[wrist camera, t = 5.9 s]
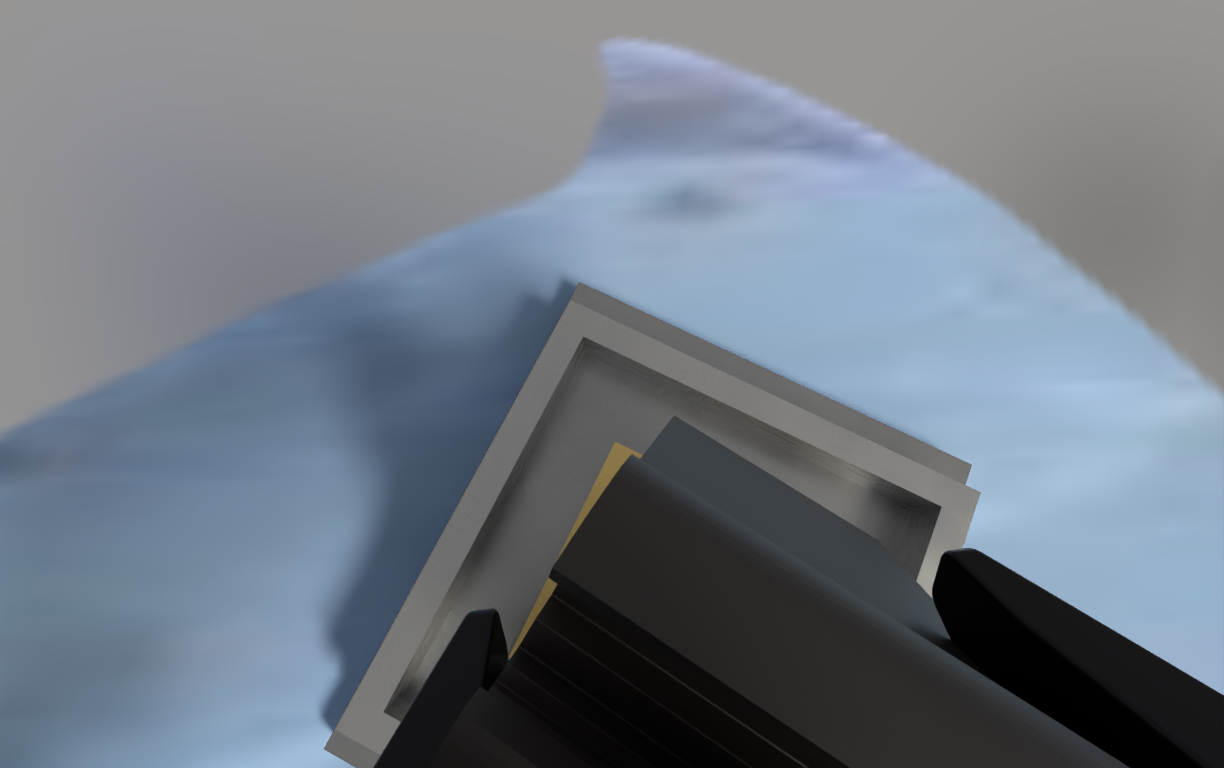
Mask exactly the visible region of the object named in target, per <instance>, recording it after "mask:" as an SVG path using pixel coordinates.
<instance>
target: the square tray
mask: <svg viewBox="0 0 1224 768" xmlns="http://www.w3.org/2000/svg"><path fill="white" fill-rule="evenodd" d="M674 415H675V416H676V417H678V418H680V419H681V420H683V421H684V422H686V423H688V424H689V425H691V426H693V427H694V428H696V429H697V430H699V431H701V432H702V433H704V434H706V435H707V436H709V437H711V438H712V439H714V440H715V441H717V442H719V443H720V444H722V445H724V446H725V447H727V448H728V449H730V450H732V451H733V452H735V453H737V454H738V455H740V456H741V457H743V458H745V459H746V460H748V461H750V462H751V463H753V464H755V465H756V466H758V467H759V468H761V469H763V470H764V471H766V472H768V473H769V474H771V475H772V476H774V477H776V478H777V479H779V480H781V481H782V482H784V483H785V484H787V485H789V486H790V487H792V488H794V489H795V490H797V491H799V492H800V493H802V494H803V495H805V496H807V497H808V498H810V499H812V500H813V501H815V502H816V503H818V504H820V505H821V506H823V507H825V508H826V509H828V510H830V511H831V512H833V513H834V514H836V515H838V516H839V517H841V518H843V519H844V520H846V521H847V522H849V523H851V524H852V525H854V526H856V527H857V528H859V529H860V530H862V531H864V532H865V533H867V534H869V535H870V536H872V537H874V538H875V539H877V540H878V541H879V542H880V543H881V544H882V545H883V546H884V547H885V548H886V550H887V551H888V552H889V553H890V554H891V555H892V556H893V557H894V558H895V559H896V560H897V561H898V562H899V563H900V564H901V566H902V567H903V568H904V569H905V570H906V571H907V572H908V573H909V574H910V575H911V576H912V577H913V578H914V579H915V580H916V582H917V583H918V584H919V585H920V586H921V587H922V588H923V589H924V590H925V591H926V592H927V593H928V594H929V595H930V597H931V598H932V599H933V597H932V586H933V583H934V579H935V576H936V572H937V569H938V565H939V562H940V558H941V556H942V554H943V553H944V552H945V551H948V550H955V549H962V548H963V545H964V542H965V539H966V536H967V533H968V529H969V526H970V523H971V520H972V517H973V514H974V511H975V508H976V505H977V502H978V499H979V496H980V493H981V492H979V491H977V490H975V489H972V488H970V487H968V486H966V485H965V484H966V481H967V478H968V475H969V472H970V469H971V466H972V465H971V464H969V463H967V462H965V461H963V460H960V459H958V458H956V457H954V456H952V455H950V454H948V453H945V452H943V451H941V450H939V449H937V448H935V447H932V446H930V445H928V444H926V443H924V442H922V441H920V440H917V439H915V438H913V437H911V436H909V435H907V434H905V433H902V432H900V431H898V430H896V429H894V428H892V427H889V426H887V425H885V424H883V423H881V422H879V421H877V420H874V419H872V418H870V417H868V416H866V415H864V414H862V413H859V412H857V411H855V410H853V409H851V408H849V407H847V406H844V405H842V404H840V403H838V402H836V401H834V400H831V399H829V398H827V397H825V396H823V395H821V394H819V393H816V392H814V391H812V390H810V389H808V388H806V387H804V386H801V385H799V384H797V383H795V382H793V381H791V380H788V379H786V378H784V377H782V376H780V375H778V374H776V373H773V372H771V371H769V370H767V369H765V368H763V367H761V366H758V365H756V364H754V363H752V362H750V361H748V360H745V359H743V358H741V357H739V356H737V355H735V354H733V353H730V352H728V351H726V350H724V349H722V348H720V347H718V346H715V345H713V344H711V343H709V342H707V341H705V340H702V339H700V338H698V337H696V336H694V335H692V334H690V333H687V332H685V331H683V330H681V329H679V328H677V327H675V326H672V325H670V324H668V323H666V322H664V321H662V320H660V319H657V318H655V317H653V316H651V315H649V314H647V313H644V312H642V311H640V310H638V309H636V308H634V307H632V306H629V305H627V304H625V303H623V302H621V301H619V300H617V299H614V298H612V297H610V296H608V295H606V294H604V293H601V292H599V291H597V290H595V289H593V288H591V287H589V286H586V285H584V284H582V283H580V282H579V284H578V286H577V288H576V289H575V291H574V293H573V295H572V297H571V298H570V300H569V302H568V304H567V306H566V308H565V309H564V311H563V313H562V315H561V317H560V319H559V320H558V322H557V324H556V326H555V328H554V330H553V331H552V333H551V335H550V337H549V339H548V340H547V342H546V344H545V346H544V348H543V350H542V351H541V353H540V355H539V357H538V359H537V361H536V362H535V364H534V366H533V368H532V370H531V372H530V373H529V375H528V377H527V379H526V381H525V382H524V384H523V386H522V388H521V390H520V392H519V393H518V395H517V397H516V399H515V401H514V403H513V404H512V406H511V408H510V410H509V412H508V414H507V415H506V417H505V419H504V421H503V423H502V424H501V426H500V428H499V430H498V432H497V434H496V435H495V437H494V439H493V441H492V443H491V445H490V446H489V448H488V450H487V452H486V454H485V456H484V457H483V459H482V461H481V463H480V465H479V466H478V468H477V470H476V472H475V474H474V476H473V477H472V479H471V481H470V483H469V485H468V487H467V488H466V490H465V492H464V494H463V496H462V497H461V499H460V501H459V503H458V505H457V507H456V508H455V510H454V512H453V514H452V516H451V518H450V519H449V521H448V523H447V525H446V527H445V529H444V530H443V532H442V534H441V536H440V538H439V539H438V541H437V543H436V545H435V547H434V549H433V550H432V552H431V554H430V556H429V558H428V560H427V561H426V563H425V565H424V567H423V569H422V571H421V572H420V574H419V576H418V578H417V580H416V581H415V583H414V585H413V587H412V589H411V591H410V592H409V594H408V596H407V598H406V600H405V602H404V603H403V605H402V607H401V609H400V611H399V613H398V614H397V616H396V618H395V620H394V622H393V623H392V625H391V627H390V629H389V631H388V633H387V634H386V636H385V638H384V640H383V642H382V644H381V645H380V647H379V649H378V651H377V653H376V654H375V656H374V658H373V660H372V662H371V664H370V665H369V667H368V669H367V671H366V673H365V675H364V676H363V678H362V680H361V682H360V684H359V686H358V687H357V689H356V691H355V693H354V695H353V696H352V698H351V700H350V702H349V704H348V706H347V707H346V709H345V711H344V713H343V715H342V717H341V718H340V720H339V722H338V724H337V726H336V728H335V729H334V731H333V733H332V735H331V737H330V738H329V740H328V742H327V744H326V746H325V748H324V750H326V751H328V752H330V753H331V754H333V755H335V756H337V757H338V758H340V759H342V760H343V761H345V762H347V763H349V764H350V765H352V766H354V767H356V768H373V767H374V765H375V764H376V762H377V760H378V759H379V757H380V755H381V754H382V752H383V750H384V749H385V747H386V746H387V744H388V742H389V741H390V739H391V737H392V736H393V734H394V732H395V731H396V729H397V727H398V726H399V724H400V723H401V721H402V719H403V718H404V716H405V714H406V713H407V711H408V709H409V708H410V706H411V704H412V703H413V701H414V699H415V698H416V696H417V695H418V693H419V691H420V690H421V688H422V686H423V685H424V683H425V681H426V680H427V678H428V676H429V675H430V673H431V672H432V670H433V668H434V667H435V665H436V663H437V662H438V660H439V658H440V657H441V655H442V653H443V652H444V650H445V648H446V647H447V645H448V644H449V642H450V640H451V639H452V637H453V635H454V634H455V632H456V630H457V629H458V627H459V625H460V624H461V622H462V621H463V619H464V617H465V616H466V615H467V614H468V613H469V612H471V611H475V610H482V609H490V608H493V609H496V610H497V611H498V613H499V615H500V619H501V623H502V627H503V631H504V635H505V639H506V643H507V649H508V661H509V660H510V658H511V657H512V655H513V654H514V653H515V651H516V650H517V648H518V647H519V645H520V644H521V642H522V640H523V639H524V637H525V635H526V634H527V632H528V630H529V629H530V627H531V625H532V624H533V622H534V620H535V619H536V617H537V616H538V614H539V613H540V611H541V610H542V608H543V607H544V605H545V604H546V602H547V601H548V599H549V598H550V596H551V595H552V593H553V591H554V589H555V588H556V586H557V583H555V582H554V581H552V580H551V579H549V578H548V577H549V575H550V572H551V570H552V567H553V566H554V564H555V563H556V561H557V560H558V558H559V557H560V555H561V554H562V552H563V551H564V549H565V547H566V546H567V544H568V543H569V541H570V540H571V538H572V537H573V535H574V534H575V532H576V531H577V529H578V528H579V526H580V525H581V523H582V522H583V520H584V519H585V517H586V516H587V515H588V513H589V512H590V510H591V509H592V507H593V506H594V504H595V503H596V501H597V500H598V498H599V497H600V496H601V494H602V493H603V491H604V490H605V488H606V487H607V485H608V484H609V483H610V481H611V480H612V478H613V477H614V476H615V474H616V473H617V472H618V470H619V469H620V467H621V466H622V465H623V464H624V462H625V461H626V460H627V459H628V457H629V456H630V455H631V454H633V455H635V456H636V457H638V458H639V459H640V458H641V457H642V456H643V454H644V453H645V452H646V451H647V449H648V448H649V447H650V445H651V444H652V443H653V442H654V440H655V439H656V438H657V436H658V435H659V434H660V433H661V431H662V430H663V429H664V427H665V426H666V425H667V424H668V422H669V421H670V420H671V418H672V417H673V416H674Z"/></svg>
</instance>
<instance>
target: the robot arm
mask: <svg viewBox="0 0 1224 768" xmlns="http://www.w3.org/2000/svg"><path fill="white" fill-rule="evenodd" d="M932 597H933V601H934V604H935V607H936V609H937V611H938V613H939V616H940V618H941V620H942V622H943V624H944V626H945V629H946V631H947V633H948V635H949V637H950V639H951V641H952V642H953V643H954V644H955V645H956V646H957V647H959V648H960V649H961V650H962V651H963V652H964V653H965V654H966V655H967V656H968V657H969V658H970V659H971V660H972V661H973V662H974V663H975V664H976V665H977V666H979V667H980V668H981V669H982V670H983V671H984V672H985V673H986V674H987V675H988V676H989V677H990V678H991V679H992V680H993V681H995V682H996V683H997V684H998V685H1000V686H1001V687H1003V688H1004V689H1006V690H1008V691H1009V692H1011V693H1012V694H1014V695H1015V696H1017V697H1019V698H1020V699H1022V700H1023V701H1025V702H1027V703H1028V704H1030V705H1031V706H1033V707H1035V708H1036V709H1038V710H1039V711H1041V712H1042V713H1044V714H1046V715H1047V716H1049V717H1050V718H1052V719H1054V720H1055V721H1057V722H1058V723H1060V724H1062V725H1063V726H1065V727H1066V728H1068V729H1069V730H1071V731H1073V732H1074V733H1076V734H1077V735H1079V736H1081V737H1082V738H1084V739H1085V740H1087V741H1089V742H1090V743H1092V744H1093V745H1095V746H1096V747H1098V748H1100V749H1101V750H1103V751H1104V752H1106V753H1108V754H1109V755H1111V756H1112V757H1114V758H1116V759H1117V760H1119V761H1120V762H1122V763H1123V764H1125V765H1127V766H1128V767H1130V768H1224V695H1222V694H1220V693H1219V692H1217V691H1215V690H1214V689H1212V688H1210V687H1209V686H1207V685H1205V684H1204V683H1202V682H1200V681H1198V680H1197V679H1195V678H1193V677H1192V676H1190V675H1188V674H1187V673H1185V672H1183V671H1182V670H1180V669H1178V668H1176V667H1175V666H1173V665H1171V664H1170V663H1168V662H1166V661H1165V660H1163V659H1161V658H1160V657H1158V656H1156V655H1154V654H1153V653H1151V652H1149V651H1148V650H1146V649H1144V648H1143V647H1141V646H1139V645H1138V644H1136V643H1134V642H1133V641H1131V640H1129V639H1127V638H1126V637H1124V636H1122V635H1121V634H1119V633H1117V632H1116V631H1114V630H1112V629H1111V628H1109V627H1107V626H1105V625H1104V624H1102V623H1100V622H1099V621H1097V620H1095V619H1094V618H1092V617H1090V616H1089V615H1087V614H1085V613H1083V612H1082V611H1080V610H1078V609H1077V608H1075V607H1073V606H1072V605H1070V604H1068V603H1067V602H1065V601H1063V600H1061V599H1060V598H1058V597H1056V596H1055V595H1053V594H1051V593H1050V592H1048V591H1046V590H1045V589H1043V588H1041V587H1039V586H1038V585H1036V584H1034V583H1033V582H1031V581H1029V580H1028V579H1026V578H1024V577H1023V576H1021V575H1019V574H1017V573H1016V572H1014V571H1012V570H1011V569H1009V568H1007V567H1006V566H1004V565H1002V564H1001V563H999V562H997V561H995V560H994V559H992V558H990V557H989V556H987V555H985V554H984V553H982V552H980V551H978V550H976V549H973V548H963V549H955V550H948V551H945V552H944V553H943V554H942V556H941V558H940V562H939V565H938V569H937V572H936V576H935V579H934V583H933V586H932ZM507 663H508V649H507V643H506V639H505V635H504V631H503V627H502V623H501V619H500V615H499V613H498V611H497V610H496V609H493V608H490V609H482V610H475V611H471V612H469V613H468V614H467V615H466V616H465V617H464V619H463V621H462V622H461V624H460V625H459V627H458V629H457V630H456V632H455V634H454V635H453V637H452V639H451V640H450V642H449V644H448V645H447V647H446V648H445V650H444V652H443V653H442V655H441V657H440V658H439V660H438V662H437V663H436V665H435V667H434V668H433V670H432V672H431V673H430V675H429V676H428V678H427V680H426V681H425V683H424V685H423V686H422V688H421V690H420V691H419V693H418V695H417V696H416V698H415V699H414V701H413V703H412V704H411V706H410V708H409V709H408V711H407V713H406V714H405V716H404V718H403V719H402V721H401V723H400V724H399V726H398V727H397V729H396V731H395V732H394V734H393V736H392V737H391V739H390V741H389V742H388V744H387V746H386V747H385V749H384V750H383V752H382V754H381V755H380V757H379V759H378V760H377V762H376V764H375V765H374V767H373V768H428V767H429V765H430V764H431V762H432V760H433V758H434V757H435V755H436V753H437V752H438V750H439V748H440V746H441V745H442V743H443V741H444V740H445V738H446V736H447V735H448V733H449V731H450V730H451V728H452V726H453V725H454V723H455V721H456V720H457V718H458V716H459V715H460V713H461V712H462V710H463V709H464V707H465V706H466V705H467V703H468V702H469V701H470V699H471V698H472V697H473V695H474V694H475V692H476V691H477V690H478V688H479V687H482V688H483V689H485V690H486V691H487V692H488V691H489V690H490V688H491V687H492V685H493V684H494V683H495V682H496V680H497V679H498V677H499V675H500V674H501V672H502V670H503V669H504V667H505V666H506V664H507Z"/></svg>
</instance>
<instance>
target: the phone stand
mask: <svg viewBox="0 0 1224 768" xmlns="http://www.w3.org/2000/svg"><path fill="white" fill-rule="evenodd" d="M548 578H549V579H551V580H552V581H554V582H555V583H557V586H556V588H555V589H554V591H553V593H552V595H551V596H550V598H549V599H548V601H547V602H546V604H545V605H544V607H543V608H542V610H541V611H540V613H539V614H538V616H537V617H536V619H535V620H534V622H533V624H532V625H531V627H530V629H529V630H528V632H527V634H526V635H525V637H524V639H523V640H522V642H521V644H520V645H519V647H518V648H517V650H516V651H515V653H514V654H513V655H512V657H511V658H510V660H509V661H508V663H507V664H506V666H505V667H504V669H503V670H502V672H501V674H500V675H499V677H498V679H497V680H496V682H495V683H494V684H493V685H492V687H491V688H490V690H489V691H488V692H487V691H486V690H485V689H483V688H482V687H479V688H478V690H477V691H476V692H475V694H474V695H473V697H472V698H471V699H470V701H469V702H468V703H467V705H466V706H465V707H464V709H463V710H462V712H461V713H460V715H459V716H458V718H457V720H456V721H455V723H454V725H453V726H452V728H451V730H450V731H449V733H448V735H447V736H446V738H445V740H444V741H443V743H442V745H441V746H440V748H439V750H438V752H437V753H436V755H435V757H434V758H433V760H432V762H431V764H430V765H429V767H428V768H1130V767H1128V766H1127V765H1125V764H1123V763H1122V762H1120V761H1119V760H1117V759H1116V758H1114V757H1112V756H1111V755H1109V754H1108V753H1106V752H1104V751H1103V750H1101V749H1100V748H1098V747H1096V746H1095V745H1093V744H1092V743H1090V742H1089V741H1087V740H1085V739H1084V738H1082V737H1081V736H1079V735H1077V734H1076V733H1074V732H1073V731H1071V730H1069V729H1068V728H1066V727H1065V726H1063V725H1062V724H1060V723H1058V722H1057V721H1055V720H1054V719H1052V718H1050V717H1049V716H1047V715H1046V714H1044V713H1042V712H1041V711H1039V710H1038V709H1036V708H1035V707H1033V706H1031V705H1030V704H1028V703H1027V702H1025V701H1023V700H1022V699H1020V698H1019V697H1017V696H1015V695H1014V694H1012V693H1011V692H1009V691H1008V690H1006V689H1004V688H1003V687H1001V686H1000V685H998V684H997V683H996V682H995V681H993V680H992V679H991V678H990V677H989V676H988V675H987V674H986V673H985V672H984V671H983V670H982V669H981V668H980V667H979V666H977V665H976V664H975V663H974V662H973V661H972V660H971V659H970V658H969V657H968V656H967V655H966V654H965V653H964V652H963V651H962V650H961V649H960V648H959V647H957V646H956V645H955V644H954V643H953V642H952V641H951V639H950V637H949V635H948V633H947V631H946V629H945V626H944V624H943V622H942V620H941V618H940V616H939V613H938V611H937V609H936V607H935V604H934V601H933V599H932V598H931V597H930V595H929V594H928V593H927V592H926V591H925V590H924V589H923V588H922V587H921V586H920V585H919V584H918V583H917V582H916V580H915V579H914V578H913V577H912V576H911V575H910V574H909V573H908V572H907V571H906V570H905V569H904V568H903V567H902V566H901V564H900V563H899V562H898V561H897V560H896V559H895V558H894V557H893V556H892V555H891V554H890V553H889V552H888V551H887V550H886V548H885V547H884V546H883V545H882V544H881V543H880V542H879V541H878V540H877V539H875V538H874V537H872V536H870V535H869V534H867V533H865V532H864V531H862V530H860V529H859V528H857V527H856V526H854V525H852V524H851V523H849V522H847V521H846V520H844V519H843V518H841V517H839V516H838V515H836V514H834V513H833V512H831V511H830V510H828V509H826V508H825V507H823V506H821V505H820V504H818V503H816V502H815V501H813V500H812V499H810V498H808V497H807V496H805V495H803V494H802V493H800V492H799V491H797V490H795V489H794V488H792V487H790V486H789V485H787V484H785V483H784V482H782V481H781V480H779V479H777V478H776V477H774V476H772V475H771V474H769V473H768V472H766V471H764V470H763V469H761V468H759V467H758V466H756V465H755V464H753V463H751V462H750V461H748V460H746V459H745V458H743V457H741V456H740V455H738V454H737V453H735V452H733V451H732V450H730V449H728V448H727V447H725V446H724V445H722V444H720V443H719V442H717V441H715V440H714V439H712V438H711V437H709V436H707V435H706V434H704V433H702V432H701V431H699V430H697V429H696V428H694V427H693V426H691V425H689V424H688V423H686V422H684V421H683V420H681V419H680V418H678V417H676V416H675V415H674V416H673V417H672V418H671V420H670V421H669V422H668V424H667V425H666V426H665V427H664V429H663V430H662V431H661V433H660V434H659V435H658V436H657V438H656V439H655V440H654V442H653V443H652V444H651V445H650V447H649V448H648V449H647V451H646V452H645V453H644V454H643V456H642V457H641V458H640V459H639V458H638V457H636V456H635V455H633V454H631V455H630V456H629V457H628V459H627V460H626V461H625V462H624V464H623V465H622V466H621V467H620V469H619V470H618V472H617V473H616V474H615V476H614V477H613V478H612V480H611V481H610V483H609V484H608V485H607V487H606V488H605V490H604V491H603V493H602V494H601V496H600V497H599V498H598V500H597V501H596V503H595V504H594V506H593V507H592V509H591V510H590V512H589V513H588V515H587V516H586V517H585V519H584V520H583V522H582V523H581V525H580V526H579V528H578V529H577V531H576V532H575V534H574V535H573V537H572V538H571V540H570V541H569V543H568V544H567V546H566V547H565V549H564V551H563V552H562V554H561V555H560V557H559V558H558V560H557V561H556V563H555V564H554V566H553V567H552V570H551V572H550V575H549V577H548Z"/></svg>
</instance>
